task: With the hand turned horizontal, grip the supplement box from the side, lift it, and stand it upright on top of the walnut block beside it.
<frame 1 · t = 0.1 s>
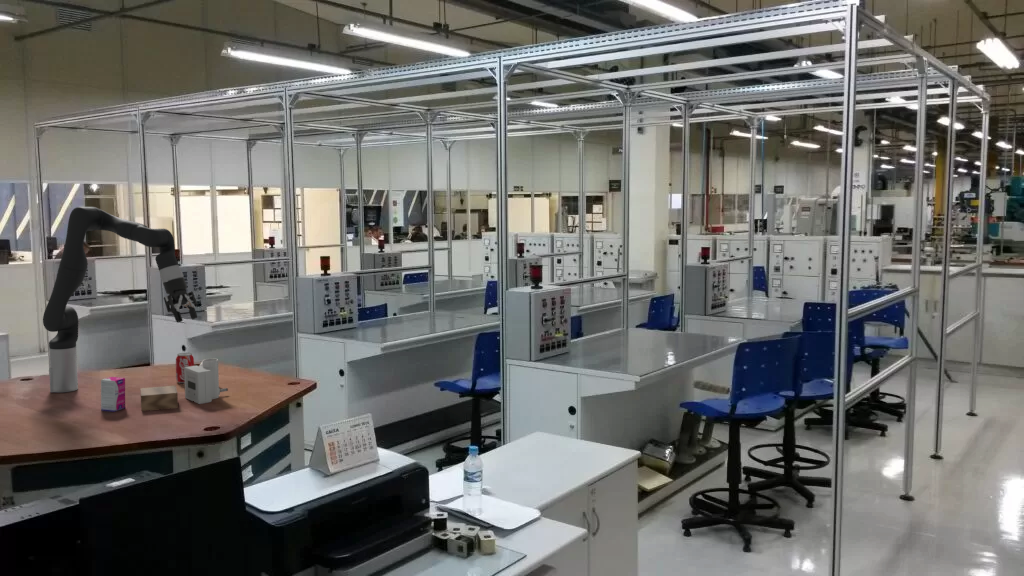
hand: (187, 320, 281), 31 cm above the table, tool tilted 20°, fingers open, 8 cm apart
thermostat: (209, 398, 291), on the table
light bulb: (207, 386, 310), on the table
supplement box: (113, 410, 272), on the table
soda can: (185, 382, 315), on the table
walnut block: (159, 406, 279), on the table
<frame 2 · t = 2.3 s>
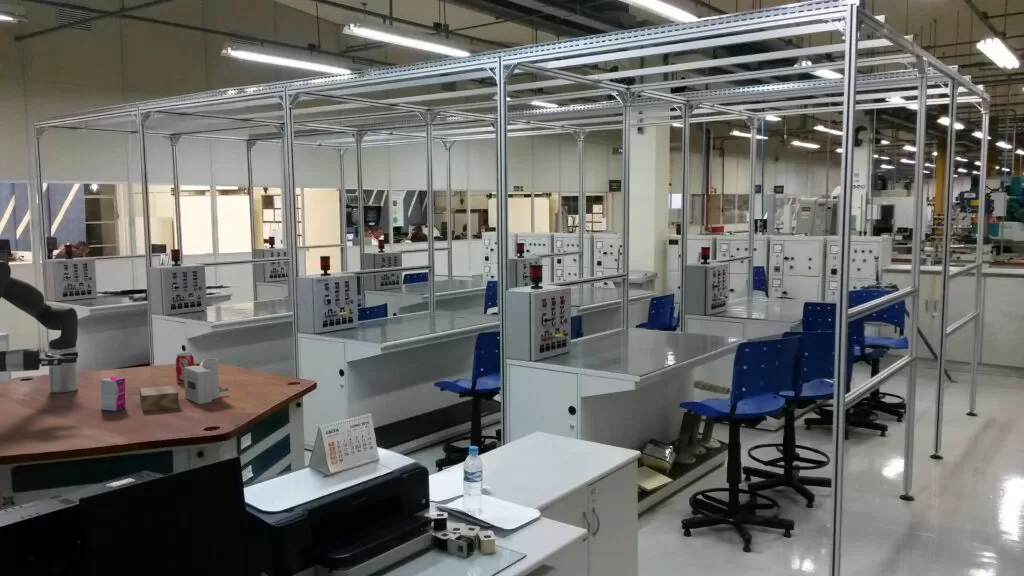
hand: (77, 357, 265), 20 cm above the table, tool horizontal, fingers open, 8 cm apart
nothing on the table moved.
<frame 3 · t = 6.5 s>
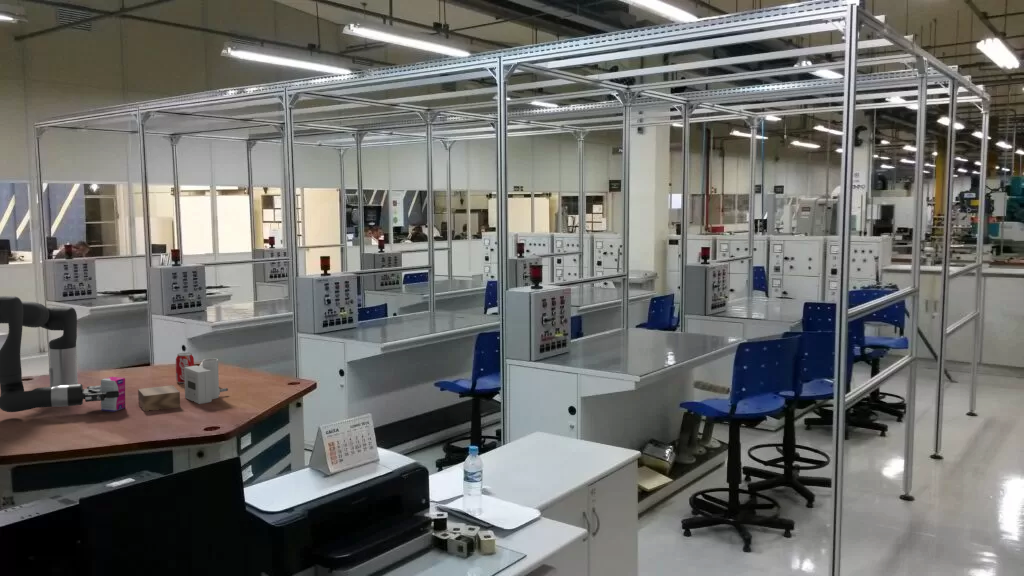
hand: (118, 391, 272), 7 cm above the table, tool horizontal, fingers closed on supplement box, 8 cm apart
supplement box: (113, 410, 272), on the table, touching gripper
everything else where it was.
when the fingers open (13 cm above the table, at t = 12.4 s): supplement box moves 1 cm, resting on walnut block.
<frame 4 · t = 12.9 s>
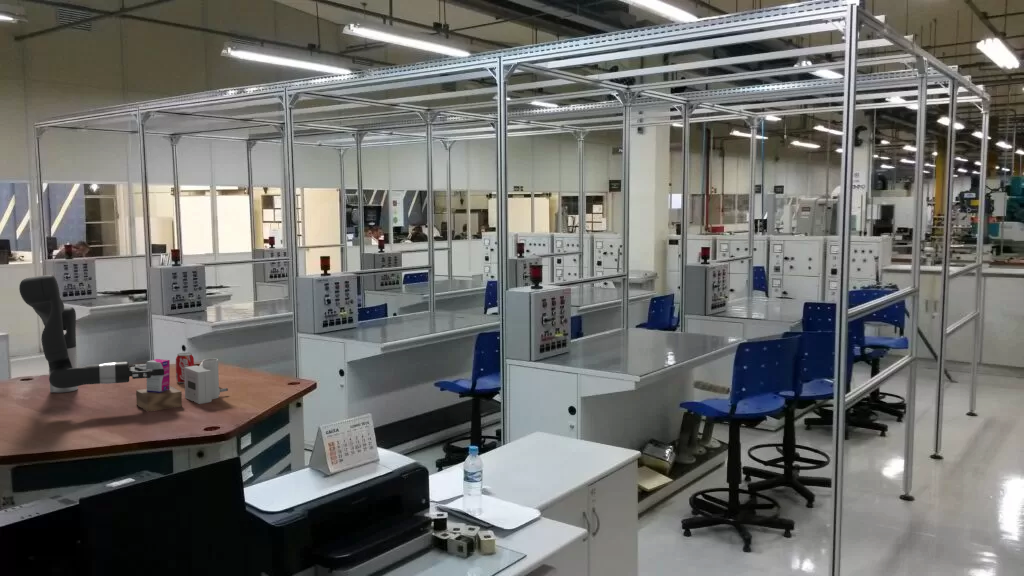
hand: (163, 369, 278), 14 cm above the table, tool horizontal, fingers open, 8 cm apart
supplement box: (158, 391, 278), point 5 cm above the table, touching gripper, walnut block
walnut block: (159, 406, 278), on the table, touching supplement box
everything else where it was.
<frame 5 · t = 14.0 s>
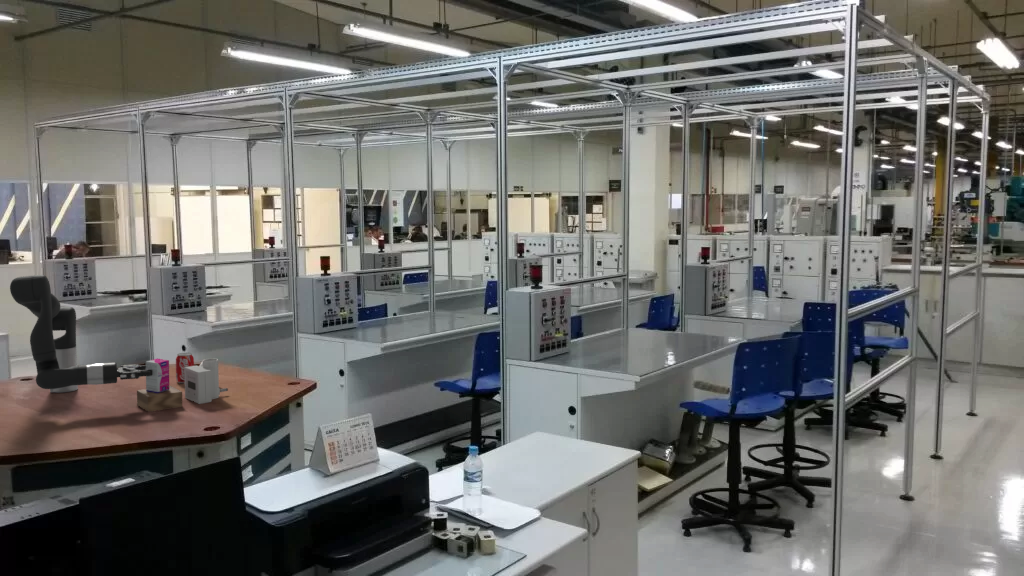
hand: (152, 370, 276), 13 cm above the table, tool horizontal, fingers open, 8 cm apart
supplement box: (158, 391, 277), point 6 cm above the table
walnut block: (159, 406, 278), on the table
everything else where it was.
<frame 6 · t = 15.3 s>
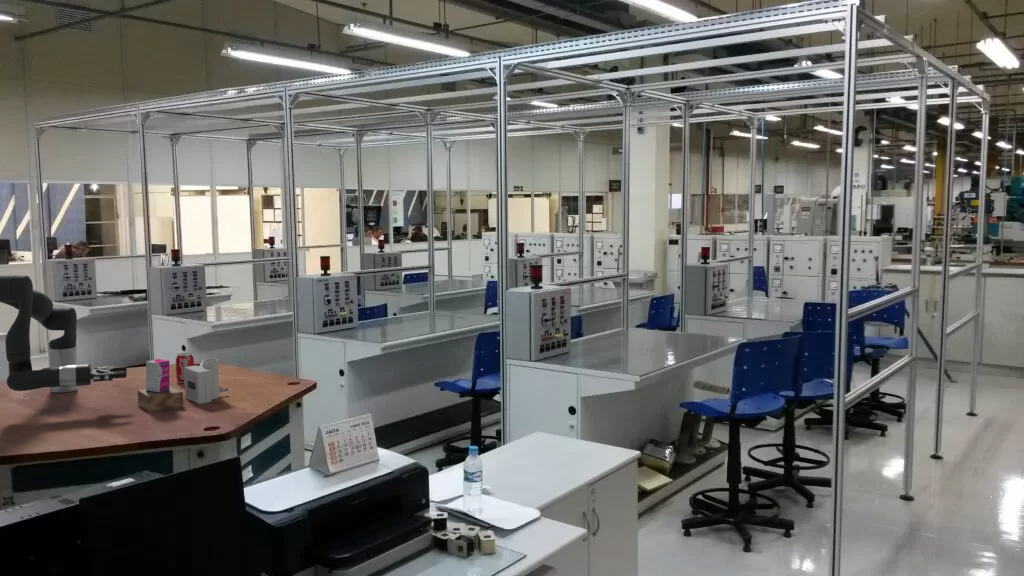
hand: (126, 372, 273), 13 cm above the table, tool horizontal, fingers open, 8 cm apart
supplement box: (158, 391, 277), point 5 cm above the table, touching walnut block
walnut block: (160, 406, 278), on the table, touching supplement box
everything else where it was.
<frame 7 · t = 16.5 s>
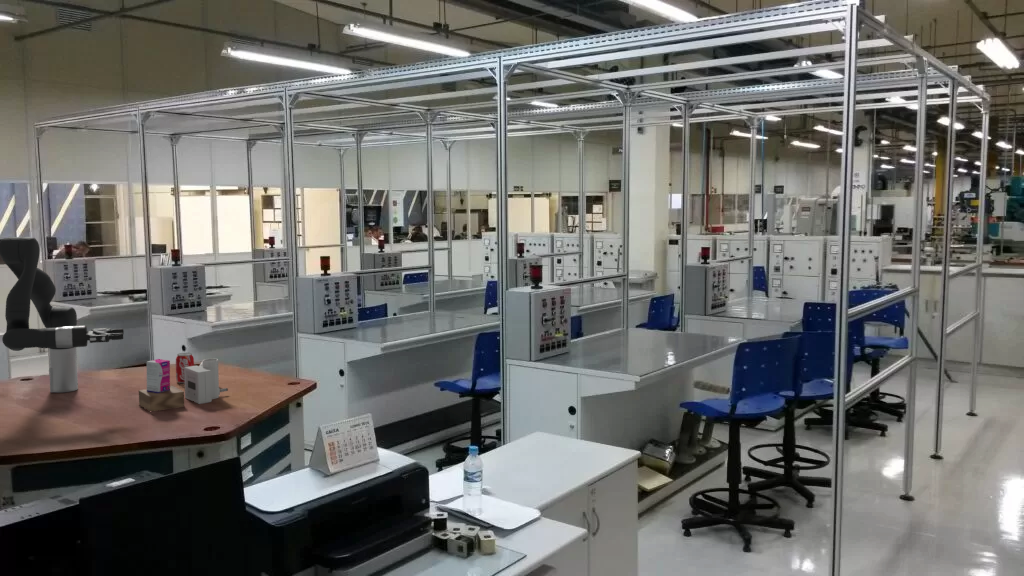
hand: (123, 333, 271), 28 cm above the table, tool horizontal, fingers open, 8 cm apart
nothing on the table moved.
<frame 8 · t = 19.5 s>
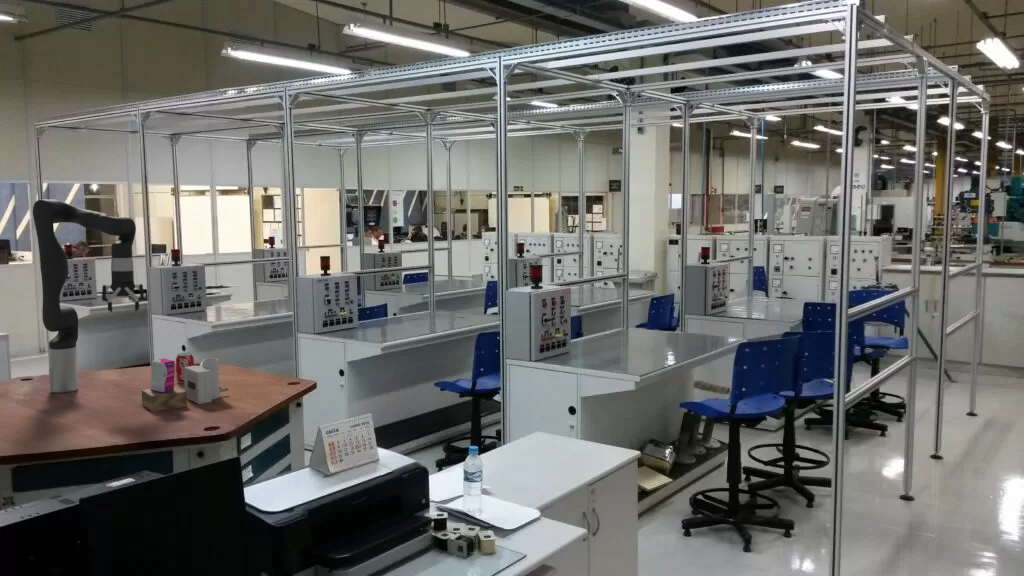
hand: (123, 311, 288), 33 cm above the table, tool pointing down, fingers open, 8 cm apart
supplement box: (162, 391, 278), point 6 cm above the table
walnut block: (164, 406, 279), on the table
everything else where it was.
at the end: supplement box inside the target area on the walnut block (0.6 cm from its centre), point 6.0 cm above the walnut block's base; supplement box tilted 2°; the gripper is holding nothing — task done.
